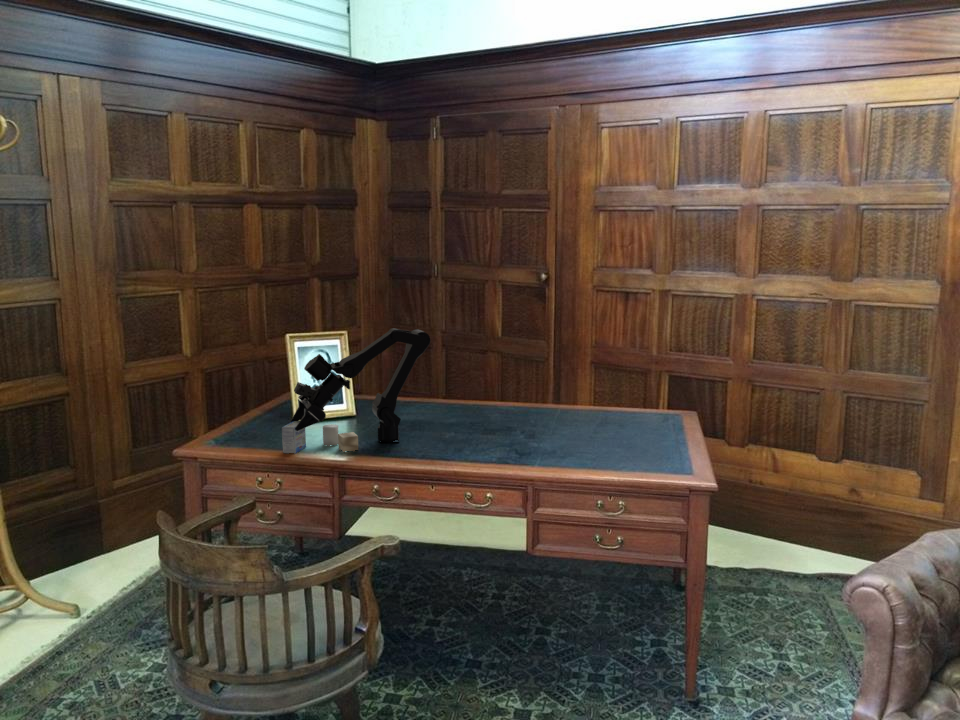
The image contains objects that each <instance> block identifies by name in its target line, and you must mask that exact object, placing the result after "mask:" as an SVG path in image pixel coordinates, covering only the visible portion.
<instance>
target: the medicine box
mask: <svg viewBox="0 0 960 720" xmlns="http://www.w3.org/2000/svg"><path fill="white" fill-rule="evenodd" d="M299 422H300V420H299V421H293V422H289V423H287V424H286V425H283V426H282V427H281V439H282V440H281V441H282V453H283V454H289V453H294V454H293V455H296V454H298V453H299V452H301V451H302V450H304V449H305V448H306V447H307V437H306V436H307V435H306V428H303V429H301V430H299V431H296V430H295V427H296V426H297V424H298V423H299ZM300 450H301V451H300ZM297 452H298V453H297Z"/></svg>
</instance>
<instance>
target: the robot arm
mask: <svg viewBox="0 0 960 720" xmlns="http://www.w3.org/2000/svg"><path fill="white" fill-rule="evenodd" d="M397 342H398V343H399V342H400V343H403V344H404V343H405V350H404V354H403V356H402V358H401V359H400V362H399V363H398V366H397V367H396V369H395V371H394V373H393V375H392V377H391V379H390V381H389V383H388V385H387V387H386V388H385V390H384V391H383V392H382V393H381V394H380V393H379V392H377V393H376V395H375V398H374V400H373V401H372V402H371V404H372V405H371V406H372V407H371V410H372V414H373V415H374V416H376V418H378V420H379V422H378V423H379V425H378V426H377V440H378V441H379V442H380V441H381V442H393V441H395V440H399V441H400V434H399V431H400V430H399V425H400V423H401V418H400V417H399V416H398V415H397V413H395V411H396V407H397V402H398V401H397V400H398V396H399V395H400V392H401V391H402V390H403V389H402V388H403V387H404V385H405V383H406V381H407V379H408V377H409V375H410V374H411V371H412V369H413V368H414V365H415V364H416V361H417V360H418V359H419V357H421V356H422V355H423V354H424V353H425V351H427V349H428V347H429V346H430V344H431V336H430V335H429V333H427V332H425V331H424V330H421V329H413V330H411V331H410V330H407V329H405V330H404V329H398V328H396V327H395V328H394V327H393V328H389V330H388V331H387V332H385V333H383V335H382V336H380V337H378V338H377V339H376V340H375V341H373V342H372V343H369V345H367V346H366V347H365V348H363V349H361V350H360V351H358V352H356V353H352V354H350V355H348V356H345V357H343V358H341V359H340V361H337V362H333V363H332V362H331V363H329V361H327V360H326V359H325V358H324V357H323V356H322V355H321V354H317V355H316V356H314V357H312V359H309V361H308V362H307V363H306V364H305V366H304V371H306V372H307V373H308V374H309V375H310V376H311V377H312V378H313V379H315V381H317V382H318V381H322V383H321V384H320V385H318V384H317V385H315V386H314V387H313V386H311V385H309V384H307V383H305V384H304V383H302V382H299V381H298V382H297V383H296V386H295V388H294V389H293V392H294V393H295V395H298V399H297V403H298V404H297V405H298V406H297V408H296V410H295V412H294V414H293V416H292V418H291V419H290V422H289V423H291V422H293V421H300V422H299V423H298V424H297V426H296V427H295V430H296V431H299V430H301V429H303V428H305V429H306V428H307V427H310V426H312V425H315V424H318V423H320V422H321V423H322V422H323V421H325V419H326V418H327V417H326V416H327V415H326V412H325V411H324V410H325V407H326V406H327V404H328V403H331V402H333V401H334V399H333V398H334V397H335V396H336V395H337V394H338V392H340V391H341V390H342V388H343V387H345V388H347V389H348V390H350V389H351V386H350V385H351V380H349V379H354V378H356V376H358V375H359V374H360V373H361V372H362V371H363V370H364V369H365V367H366V365H367V364H368V363H369V362H371V361H372V360H374V358H376V357H377V356H379V355H380V354H382V353H383V352H385V351H386V350H388V348H390V347H391V346H393V345H395V344H396V343H397ZM333 372H335V373H336V374H337V375H336V374H334V373H333ZM344 377H345V378H347V379H345V378H344ZM347 389H346V390H347Z"/></svg>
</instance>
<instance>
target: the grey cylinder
mask: <svg viewBox="0 0 960 720" xmlns="http://www.w3.org/2000/svg"><path fill="white" fill-rule="evenodd" d="M338 434H339V425H338V424H334V423H333V424H331V423H330V424H323V426H322V442H323V443H322V444H324V445H327V446H326V447H331V446H330V445H336V446H338V445H337V444H338ZM324 445H323V446H324Z"/></svg>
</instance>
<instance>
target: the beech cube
mask: <svg viewBox="0 0 960 720" xmlns="http://www.w3.org/2000/svg"><path fill="white" fill-rule="evenodd" d="M337 446H338V449H339V450H340V449H341V450H342V451H343V452H345V451H353V452H356V451H355V450H358V451H359V436H358V434H356V433H355V432H354V431H351V432H342V433H341V432H340V433H338V445H337ZM341 450H340V451H341ZM342 451H341V452H342ZM343 452H342V453H343ZM345 453H346V452H345Z"/></svg>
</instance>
